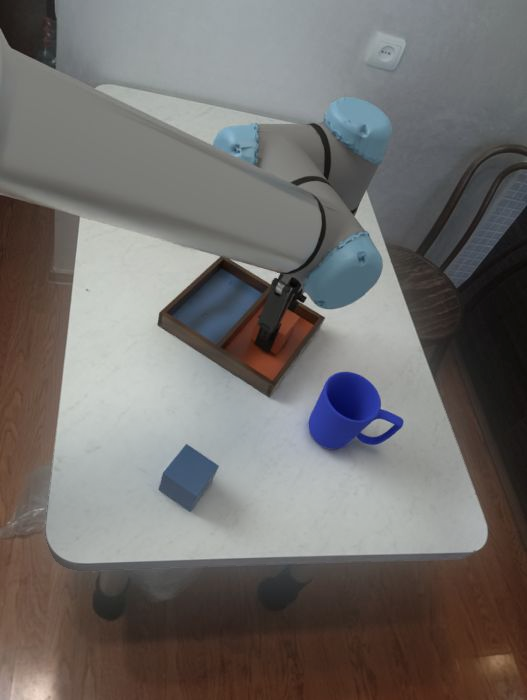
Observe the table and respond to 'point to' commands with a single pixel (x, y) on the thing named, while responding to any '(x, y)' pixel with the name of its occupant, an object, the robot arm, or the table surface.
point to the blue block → (188, 477)
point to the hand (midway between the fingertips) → (271, 336)
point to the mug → (348, 412)
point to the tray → (235, 324)
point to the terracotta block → (280, 330)
